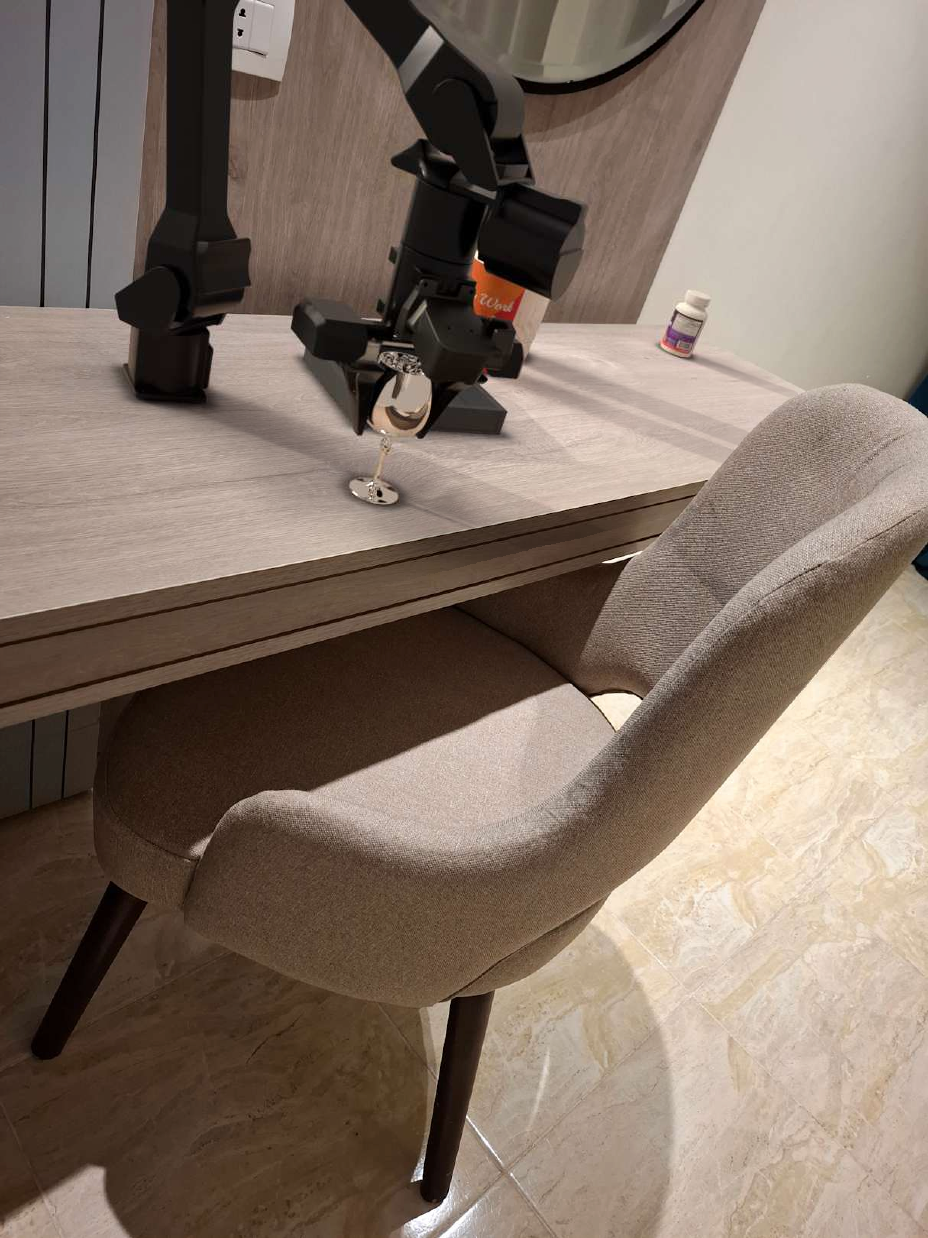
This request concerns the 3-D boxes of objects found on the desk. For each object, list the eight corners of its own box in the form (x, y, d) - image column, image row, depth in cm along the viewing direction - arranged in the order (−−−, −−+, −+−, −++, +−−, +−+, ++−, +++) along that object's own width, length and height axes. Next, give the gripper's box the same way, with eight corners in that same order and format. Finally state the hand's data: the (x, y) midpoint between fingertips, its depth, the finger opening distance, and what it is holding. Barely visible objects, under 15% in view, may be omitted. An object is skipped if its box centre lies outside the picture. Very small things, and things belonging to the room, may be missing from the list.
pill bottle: (667, 343, 154) (691, 286, 149) (694, 356, 152) (719, 299, 147) (654, 346, 150) (678, 288, 145) (682, 359, 148) (708, 301, 143)
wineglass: (380, 515, 77) (416, 383, 70) (328, 484, 79) (358, 353, 72) (417, 497, 82) (454, 373, 75) (367, 469, 83) (399, 344, 77)
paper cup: (435, 357, 114) (467, 244, 106) (457, 346, 120) (489, 238, 112) (491, 382, 112) (527, 269, 105) (510, 368, 119) (546, 261, 111)
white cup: (526, 367, 121) (551, 294, 115) (470, 347, 121) (493, 273, 115) (533, 352, 127) (557, 281, 122) (480, 333, 128) (502, 262, 122)
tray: (354, 425, 90) (360, 399, 89) (302, 359, 100) (307, 335, 99) (500, 434, 99) (508, 411, 98) (439, 372, 110) (445, 350, 108)
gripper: (365, 270, 58) (318, 481, 67) (589, 306, 68) (523, 486, 77) (308, 215, 66) (272, 411, 74) (517, 255, 76) (464, 424, 84)
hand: (388, 435), depth 77 cm, fingers closed on wineglass, 5 cm apart
